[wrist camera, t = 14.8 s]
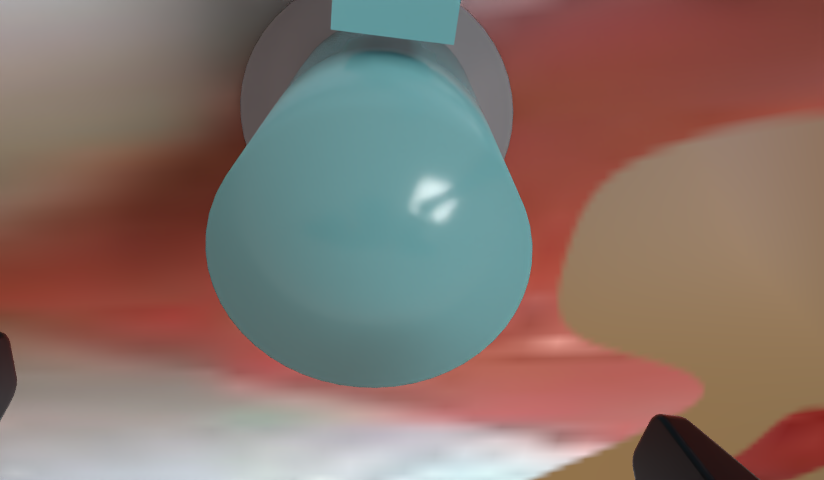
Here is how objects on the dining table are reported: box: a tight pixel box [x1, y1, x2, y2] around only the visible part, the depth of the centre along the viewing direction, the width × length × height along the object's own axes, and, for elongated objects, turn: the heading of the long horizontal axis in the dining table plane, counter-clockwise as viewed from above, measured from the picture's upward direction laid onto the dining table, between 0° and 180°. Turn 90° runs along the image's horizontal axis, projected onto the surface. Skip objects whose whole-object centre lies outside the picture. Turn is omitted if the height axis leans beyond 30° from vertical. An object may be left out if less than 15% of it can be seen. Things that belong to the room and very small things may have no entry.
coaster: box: [240, 0, 513, 159], centre depth 19 cm, size 9×9×1 cm
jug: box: [206, 0, 532, 388], centre depth 13 cm, size 12×6×10 cm, turn 173°
